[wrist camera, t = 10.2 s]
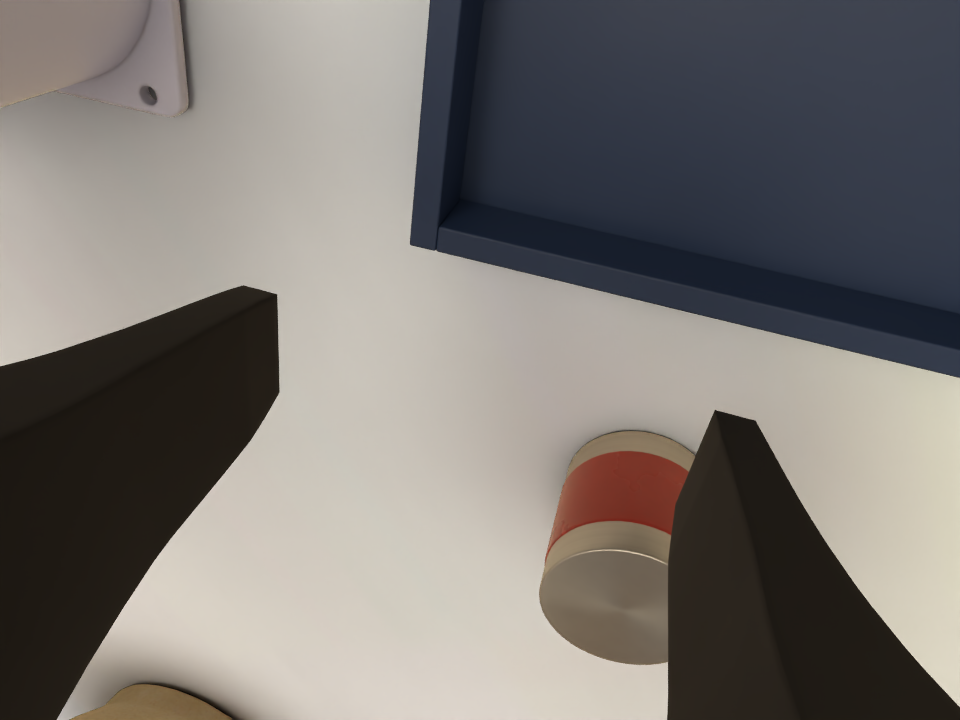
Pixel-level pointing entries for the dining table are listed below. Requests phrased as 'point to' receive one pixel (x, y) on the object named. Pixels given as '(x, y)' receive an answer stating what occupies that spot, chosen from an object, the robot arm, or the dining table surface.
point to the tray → (708, 159)
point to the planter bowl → (153, 706)
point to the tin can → (615, 547)
